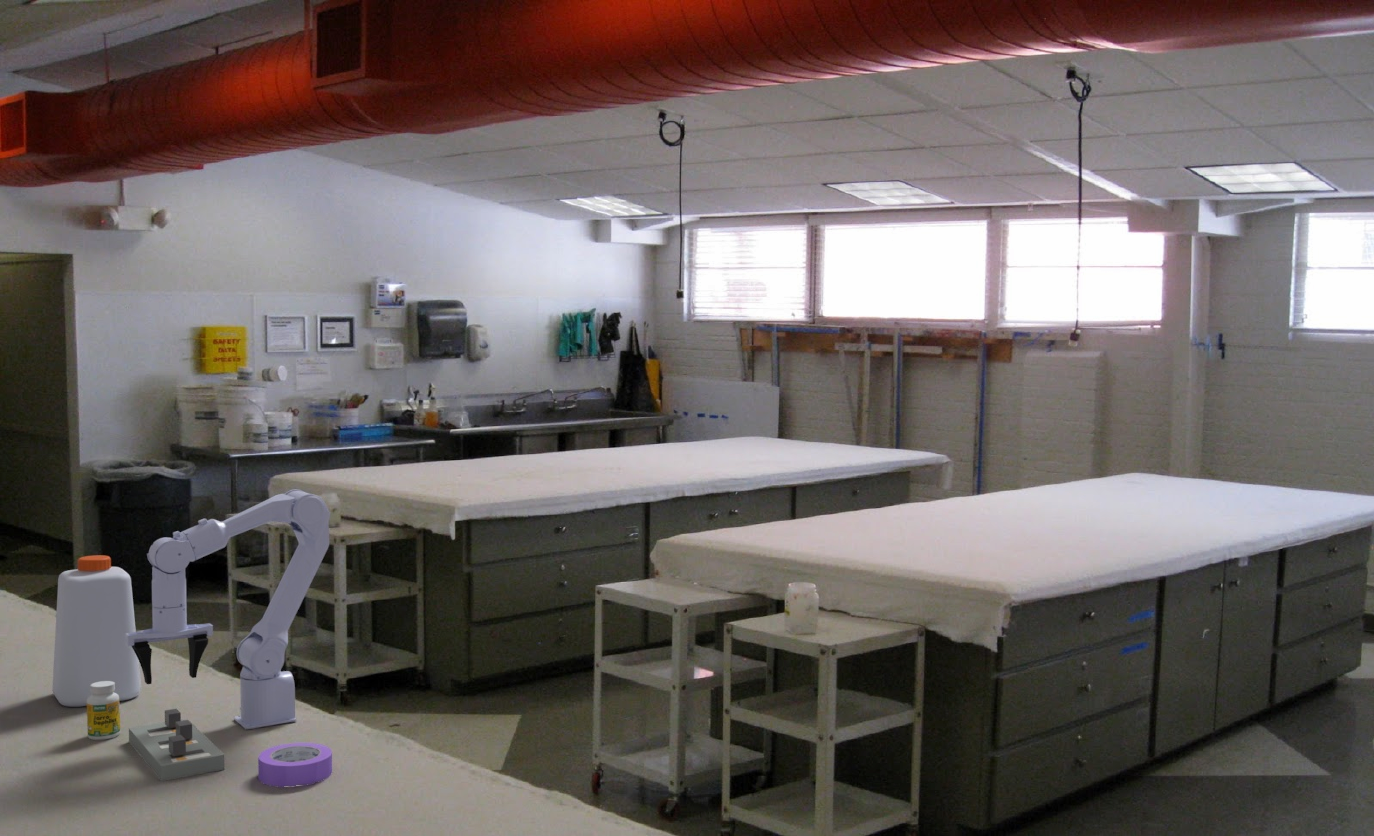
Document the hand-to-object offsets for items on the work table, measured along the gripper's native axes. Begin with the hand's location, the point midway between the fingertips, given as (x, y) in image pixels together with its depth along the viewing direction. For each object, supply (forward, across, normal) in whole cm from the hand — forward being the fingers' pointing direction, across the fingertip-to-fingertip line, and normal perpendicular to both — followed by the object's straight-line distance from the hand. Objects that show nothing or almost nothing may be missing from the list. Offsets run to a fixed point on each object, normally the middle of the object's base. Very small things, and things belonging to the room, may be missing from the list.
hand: (170, 679), depth 228 cm
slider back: (+8, +1, +3) cm, 8 cm away
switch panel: (+10, +2, +11) cm, 15 cm away
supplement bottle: (+11, +10, -7) cm, 16 cm away
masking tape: (+11, -12, +32) cm, 36 cm away
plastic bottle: (+11, +6, -35) cm, 37 cm away
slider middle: (+7, +1, +11) cm, 13 cm away
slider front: (+8, +4, +19) cm, 21 cm away
